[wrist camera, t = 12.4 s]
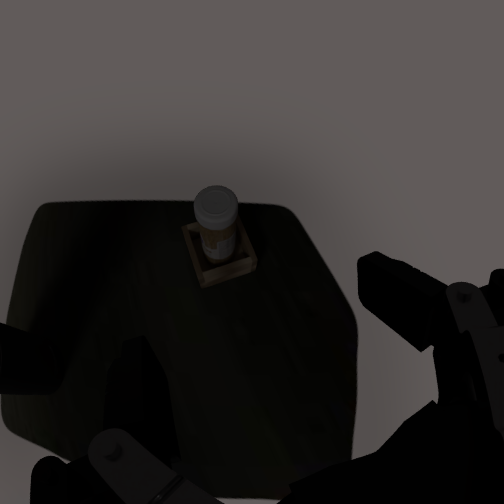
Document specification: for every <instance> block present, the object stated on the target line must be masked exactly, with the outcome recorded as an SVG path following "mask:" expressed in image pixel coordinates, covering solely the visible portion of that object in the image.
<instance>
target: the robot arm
mask: <svg viewBox="0 0 504 504" xmlns="http://www.w3.org/2000/svg"><path fill="white" fill-rule="evenodd" d="M357 272H358V295H359V299H360V301H361V303H362V305H363V306H364V307H365V308H366V309H368V310H369V311H370V312H371V313H373V314H374V315H375V316H376V317H378V318H379V319H380V320H381V321H383V322H384V323H385V324H386V325H388V326H389V327H390V328H391V329H393V330H394V331H395V332H396V333H398V334H399V335H400V336H401V337H402V338H404V339H405V340H406V341H408V342H409V343H410V344H411V345H412V346H414V347H415V348H416V349H417V350H418V351H420V352H422V351H424V350H425V349H426V348H428V347H429V346H430V345H432V346H434V350H433V358H434V364H435V370H436V377H437V383H438V392H439V398H438V403H437V404H436V403H435V402H434V401H433V400H432V401H431V402H429V403H428V404H427V405H426V406H424V407H423V408H422V409H421V410H419V411H418V412H416V413H415V414H414V415H412V416H411V417H410V418H408V419H407V420H406V421H404V422H403V423H402V425H401V426H400V427H399V428H398V429H397V430H396V431H395V432H394V434H393V435H392V436H391V437H390V438H389V439H388V440H387V441H386V442H385V443H384V444H383V445H382V446H381V447H380V448H379V449H378V450H377V451H376V452H374V453H372V454H369V455H366V456H363V457H359V458H356V459H353V460H350V461H346V462H343V463H339V464H336V465H332V466H329V467H327V468H325V469H323V470H321V471H319V472H317V473H314V474H312V475H310V476H308V477H306V478H303V479H301V480H299V481H296V482H294V483H291V484H289V487H290V489H291V491H292V493H290V494H289V495H287V496H286V497H284V498H283V499H282V500H281V501H280V502H278V503H277V504H504V269H496V270H494V271H493V272H491V275H490V280H489V284H488V285H486V286H483V287H480V288H478V287H476V286H475V285H473V284H470V283H466V282H456V283H453V284H451V285H449V286H447V285H446V284H444V283H442V282H440V281H438V280H437V279H435V278H433V277H431V276H429V275H427V274H426V273H424V272H421V271H420V270H418V269H416V268H413V267H412V266H411V265H409V264H407V263H405V262H403V261H399V260H395V259H391V258H389V257H387V256H385V255H383V254H382V253H380V252H377V251H374V252H372V253H370V254H367V255H365V256H363V257H360V258H359V259H358V262H357ZM62 377H63V363H62V358H61V355H60V353H59V351H58V349H57V347H56V346H55V345H54V344H53V343H52V342H51V341H50V340H48V339H47V338H44V337H41V336H38V335H35V334H32V333H29V332H26V331H23V330H20V329H17V328H14V327H11V326H9V325H6V324H3V323H0V394H11V395H49V394H52V393H54V392H55V391H56V390H57V389H58V387H59V386H60V384H61V381H62ZM180 461H181V456H180V451H179V446H178V441H177V436H176V430H175V425H174V419H173V413H172V406H171V400H170V393H169V386H168V381H167V377H166V375H165V372H164V370H163V368H162V366H161V364H160V362H159V361H158V359H157V357H156V355H155V353H154V352H153V350H152V348H151V346H150V344H149V342H148V340H147V339H146V337H145V336H139V337H136V338H133V339H130V340H126V341H123V344H122V354H121V358H118V359H114V361H113V363H112V364H111V366H110V368H109V370H108V374H107V385H106V395H105V405H104V420H103V431H102V432H101V433H99V434H98V435H97V436H96V437H95V438H94V439H93V440H92V442H91V444H90V446H89V450H88V454H87V455H86V456H84V457H81V458H79V459H77V460H75V461H72V462H70V463H68V464H66V463H64V462H63V461H62V460H61V459H59V458H58V457H55V456H46V457H44V458H42V459H40V460H39V461H38V462H37V463H36V465H35V466H34V468H33V470H32V474H31V488H30V504H224V503H222V502H221V501H219V500H217V499H216V498H214V497H213V496H211V495H209V494H208V493H206V492H205V491H203V490H202V489H200V488H199V487H197V486H196V485H194V484H193V483H191V482H190V481H188V480H187V479H185V478H184V477H182V476H180V475H178V474H177V473H175V472H174V471H173V470H172V467H171V463H175V462H180Z"/></svg>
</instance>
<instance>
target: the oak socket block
mask: <svg viewBox="0 0 504 504" xmlns="http://www.w3.org/2000/svg"><path fill="white" fill-rule="evenodd" d="M199 229H200V228H199V223H198V222H195V223H192V224H188V225H185V226H182V230H183V234H184V237H185V240H186V243H187V247H188V250H189V253H190V256H191V259H192V262H193V265H194V268H195V271H196V274H197V277H198V280H199V283H200V286H201V289H203V288H206V287H209V286H212V285H214V284H217V283H220V282H223V281H226V280H229V279H232V278H235V277H238V276H241V275H244V274H247V273H250V272H252V271H255V270H256V266H257V261H258V259H257V257H256V254H255V252H254V249H253V247H252V245H251V242H250V240H249V238H248V235H247V233H246V231H245V228H244V226H243V224H242V221H241V219H240V217H239V214H237V217H236V238H235V248H234V249H235V257H234V260H233V261H232V263H230V264H227V265H224V266H221V267H218V268H215V267H212V266H210V265H209V264H208V263H207V262H206V261H205V259H204V256H203V248H202V242H201V236H200V230H199Z"/></svg>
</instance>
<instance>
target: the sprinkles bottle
mask: <svg viewBox="0 0 504 504" xmlns="http://www.w3.org/2000/svg"><path fill="white" fill-rule="evenodd" d="M194 212H195V216H196V219H197V221H198V223H199V228H200V229H199V230H200V236H201V242H202V248H203V256H204V259H205V261H206V262H207V263H208V264H209V265H210V266H212V267H215V268H218V267H221V266H224V265H227V264H230V263H232V261H233V260H234V257H235V249H234V248H235V238H236V217H237V214H238V200H237V197H236V195H235V194H234V193H233V192H232V191H231V190H230V189H228V188H226V187H223V186H210V187H207V188H205V189H203V190H202V191H201V192H199V193H198V195H197V196H196V198H195V200H194Z"/></svg>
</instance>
